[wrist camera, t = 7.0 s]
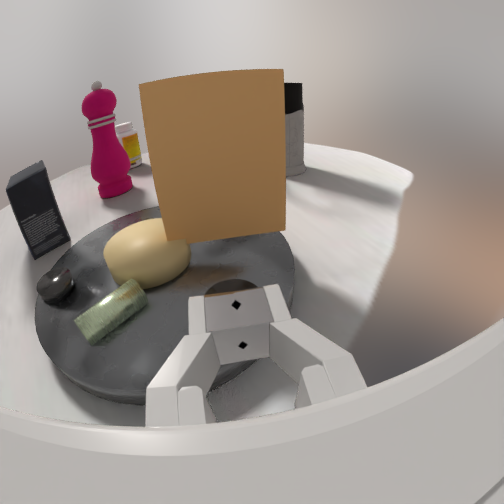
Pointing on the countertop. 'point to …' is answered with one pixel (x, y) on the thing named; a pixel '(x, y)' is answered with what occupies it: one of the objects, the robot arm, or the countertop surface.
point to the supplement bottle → (129, 142)
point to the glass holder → (294, 129)
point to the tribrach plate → (143, 307)
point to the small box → (36, 210)
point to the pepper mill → (106, 143)
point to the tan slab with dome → (206, 169)
